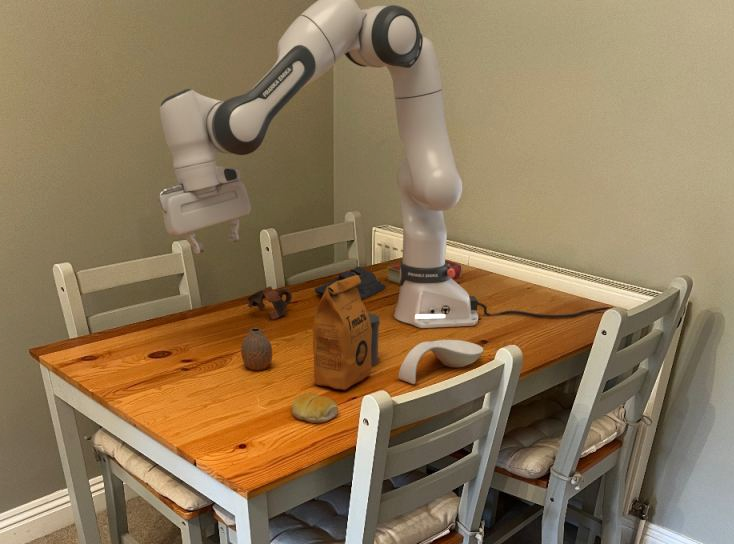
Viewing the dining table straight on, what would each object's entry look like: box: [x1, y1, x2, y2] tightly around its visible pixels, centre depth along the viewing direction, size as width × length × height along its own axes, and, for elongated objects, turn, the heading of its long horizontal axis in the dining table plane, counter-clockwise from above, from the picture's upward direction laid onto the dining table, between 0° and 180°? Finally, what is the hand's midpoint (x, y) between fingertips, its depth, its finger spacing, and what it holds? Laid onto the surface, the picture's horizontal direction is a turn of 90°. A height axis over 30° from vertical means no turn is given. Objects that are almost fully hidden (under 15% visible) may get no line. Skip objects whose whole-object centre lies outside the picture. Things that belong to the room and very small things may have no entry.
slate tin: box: [367, 312, 381, 367], centre depth 169 cm, size 7×7×10 cm
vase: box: [240, 327, 273, 371], centre depth 165 cm, size 7×7×9 cm
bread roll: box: [291, 392, 339, 424], centre depth 146 cm, size 8×9×4 cm
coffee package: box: [312, 275, 373, 391], centre depth 156 cm, size 10×12×22 cm
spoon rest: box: [397, 339, 484, 385], centre depth 166 cm, size 24×12×7 cm, turn 137°
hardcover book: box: [385, 259, 463, 286], centre depth 229 cm, size 12×21×4 cm, turn 130°
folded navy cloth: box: [314, 266, 386, 300], centre depth 217 cm, size 15×22×5 cm
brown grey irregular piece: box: [247, 285, 293, 321], centre depth 198 cm, size 12×10×8 cm
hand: (217, 247), depth 163 cm, fingers open, 8 cm apart
